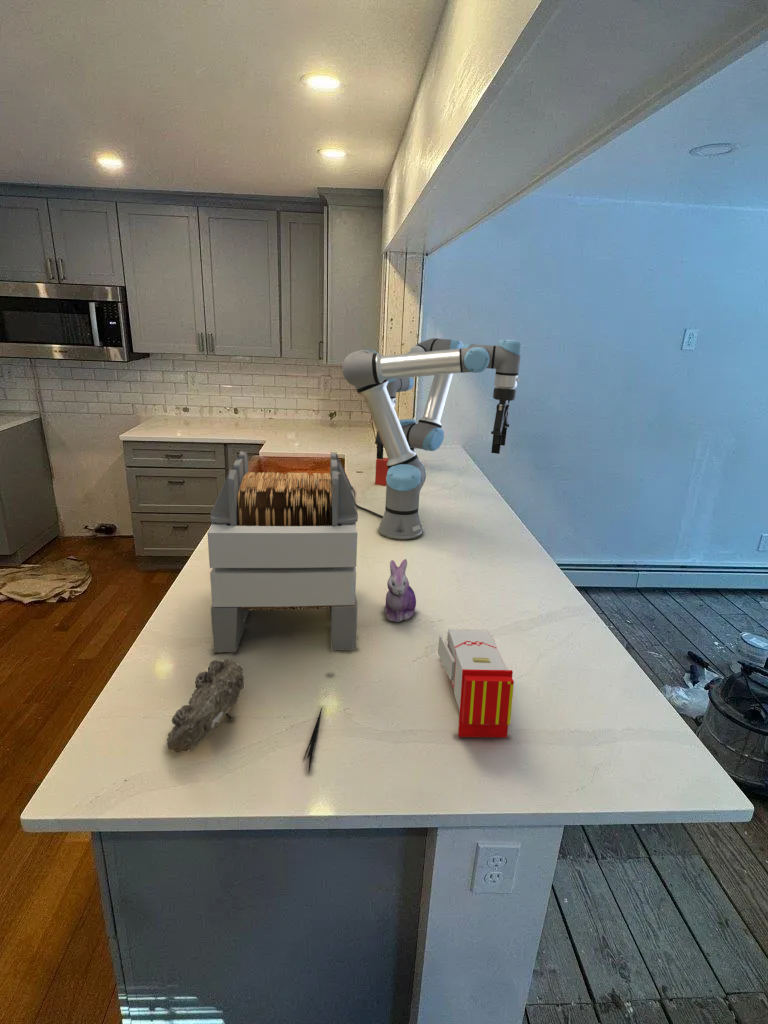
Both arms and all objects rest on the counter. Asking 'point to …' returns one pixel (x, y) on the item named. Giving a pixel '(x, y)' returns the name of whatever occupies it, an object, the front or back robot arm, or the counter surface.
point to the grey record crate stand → (283, 549)
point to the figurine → (399, 594)
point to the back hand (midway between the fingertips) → (384, 455)
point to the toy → (478, 682)
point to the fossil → (206, 705)
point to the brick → (381, 471)
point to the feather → (313, 740)
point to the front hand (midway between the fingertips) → (498, 449)
